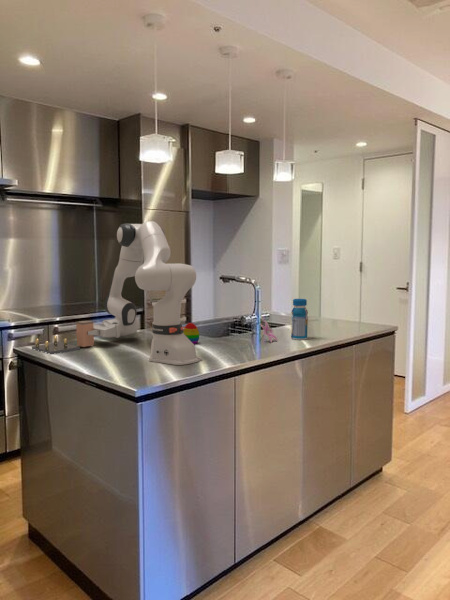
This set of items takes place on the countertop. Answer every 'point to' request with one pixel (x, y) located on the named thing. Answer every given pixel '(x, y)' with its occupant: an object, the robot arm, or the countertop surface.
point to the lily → (268, 332)
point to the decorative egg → (191, 332)
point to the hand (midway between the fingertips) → (83, 332)
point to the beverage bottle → (299, 319)
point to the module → (84, 333)
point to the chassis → (55, 346)
